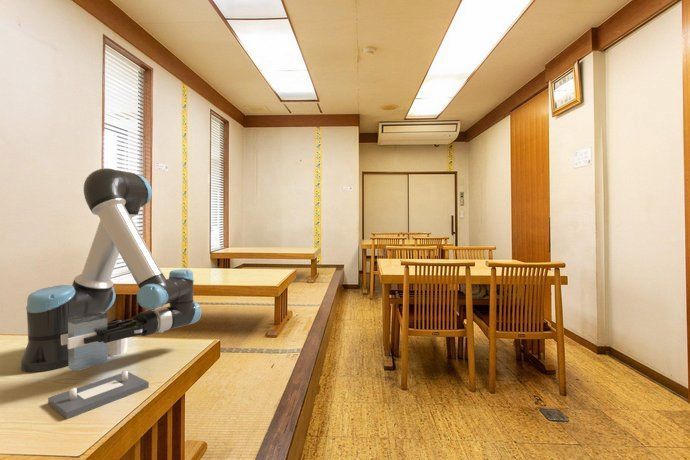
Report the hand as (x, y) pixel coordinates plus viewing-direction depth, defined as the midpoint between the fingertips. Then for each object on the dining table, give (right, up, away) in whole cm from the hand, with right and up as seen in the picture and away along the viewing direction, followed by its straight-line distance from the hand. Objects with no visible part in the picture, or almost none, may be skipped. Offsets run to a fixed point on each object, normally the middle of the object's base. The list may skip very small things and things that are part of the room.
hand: (64, 341), depth 94 cm
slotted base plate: (+13, -12, -4) cm, 18 cm away
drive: (+3, -8, +5) cm, 10 cm away
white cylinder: (-2, -12, +25) cm, 28 cm away
